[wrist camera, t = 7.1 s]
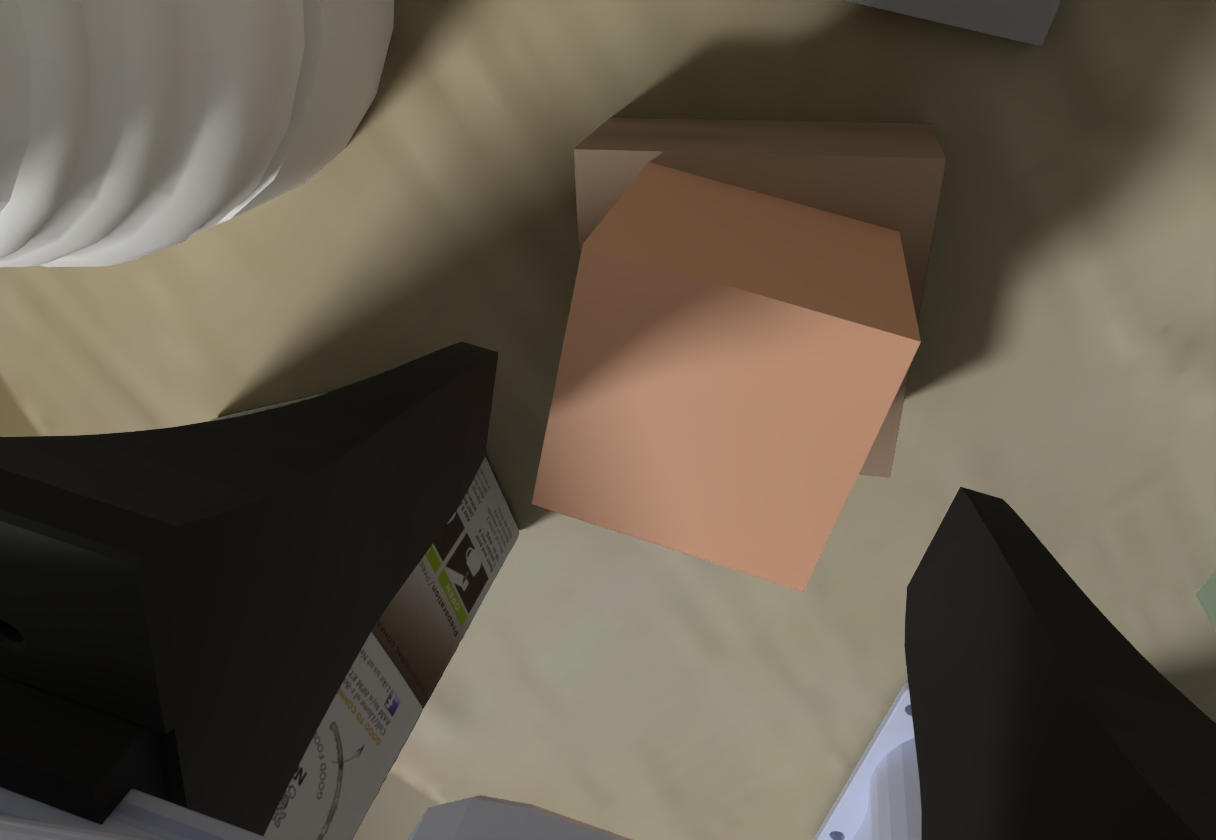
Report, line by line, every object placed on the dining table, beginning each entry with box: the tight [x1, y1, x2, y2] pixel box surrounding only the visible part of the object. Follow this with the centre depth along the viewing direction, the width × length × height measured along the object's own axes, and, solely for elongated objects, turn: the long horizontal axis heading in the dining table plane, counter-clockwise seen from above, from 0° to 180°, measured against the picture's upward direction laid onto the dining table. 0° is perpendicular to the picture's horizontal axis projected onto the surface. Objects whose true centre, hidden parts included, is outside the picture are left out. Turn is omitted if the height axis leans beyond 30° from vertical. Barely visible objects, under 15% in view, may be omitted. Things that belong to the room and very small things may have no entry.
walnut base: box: [574, 118, 946, 478], centre depth 19 cm, size 7×7×4 cm
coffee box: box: [211, 393, 519, 840], centre depth 20 cm, size 9×6×16 cm
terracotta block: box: [532, 162, 921, 592], centre depth 15 cm, size 5×5×5 cm
